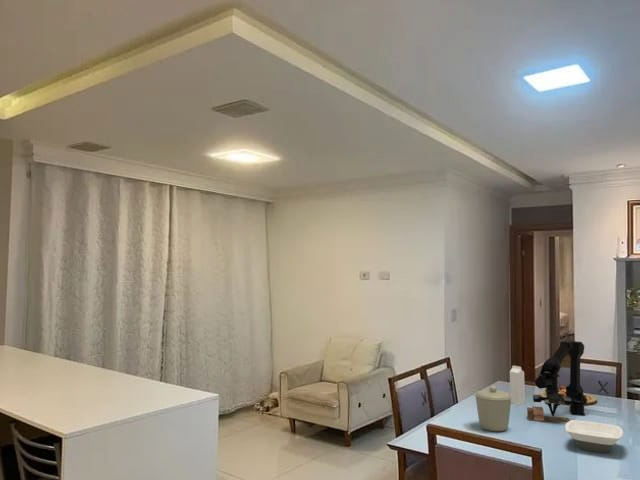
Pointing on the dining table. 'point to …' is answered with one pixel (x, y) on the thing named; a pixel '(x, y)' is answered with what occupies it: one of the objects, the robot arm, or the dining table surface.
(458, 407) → the dining table surface
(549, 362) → the robot arm
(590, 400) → the wooden plate with food
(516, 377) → the milk
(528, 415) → the rail
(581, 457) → the dining table surface
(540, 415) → the block
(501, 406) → the canister
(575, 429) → the bowl
